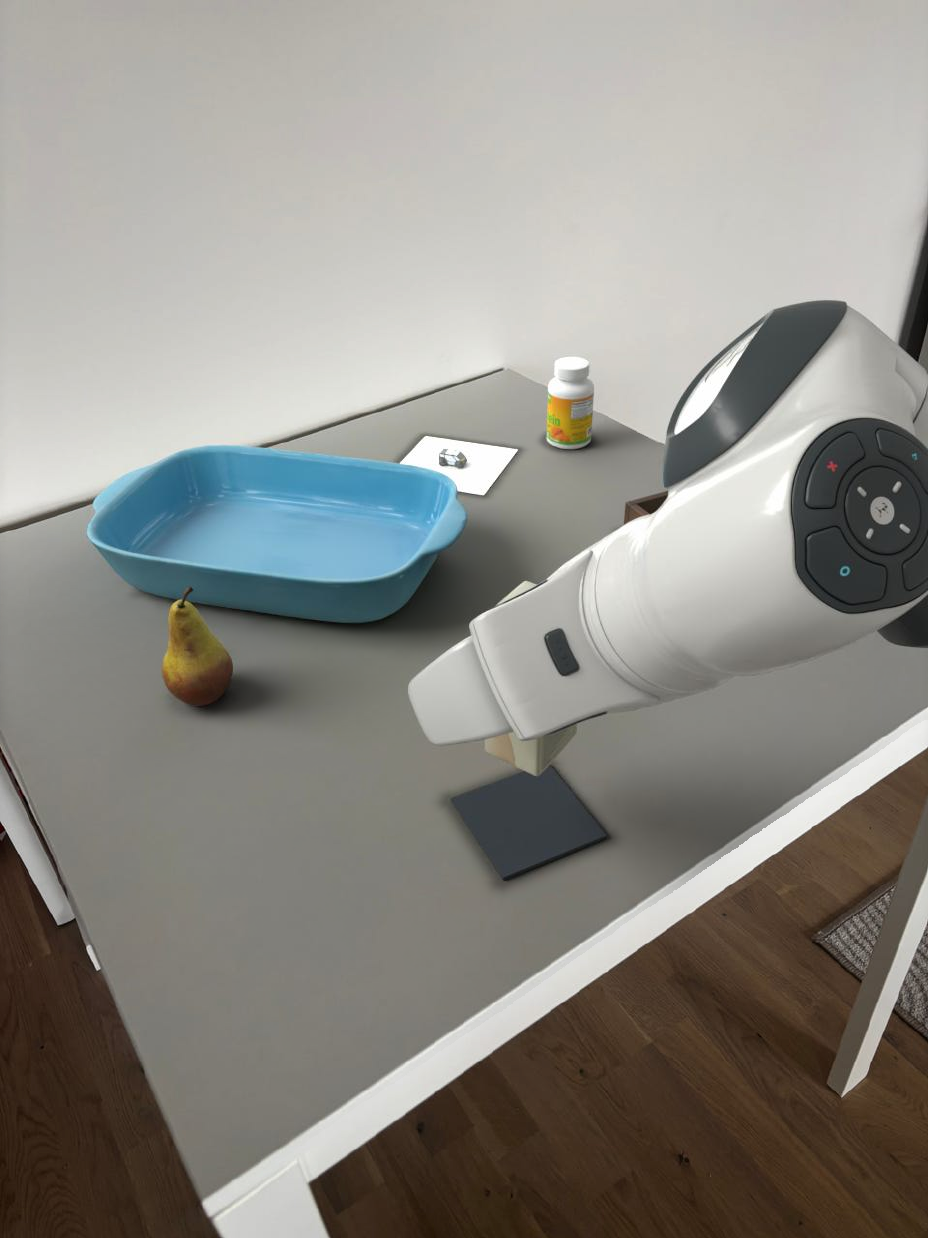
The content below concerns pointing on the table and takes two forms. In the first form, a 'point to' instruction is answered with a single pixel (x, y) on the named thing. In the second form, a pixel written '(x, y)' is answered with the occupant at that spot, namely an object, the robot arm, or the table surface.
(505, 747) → the box
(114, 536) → the casserole dish
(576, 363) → the supplement bottle
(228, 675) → the fruit
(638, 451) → the table surface
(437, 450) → the white card
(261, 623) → the table surface
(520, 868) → the mat
